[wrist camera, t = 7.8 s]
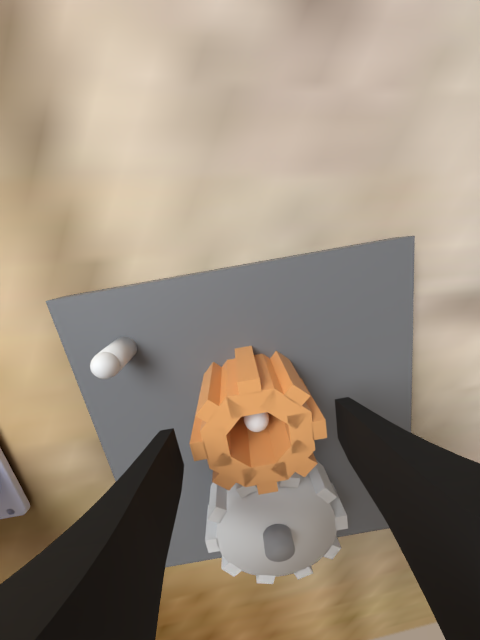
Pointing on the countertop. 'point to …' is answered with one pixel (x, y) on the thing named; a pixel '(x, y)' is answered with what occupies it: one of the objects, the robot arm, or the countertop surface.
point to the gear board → (182, 399)
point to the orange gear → (248, 399)
